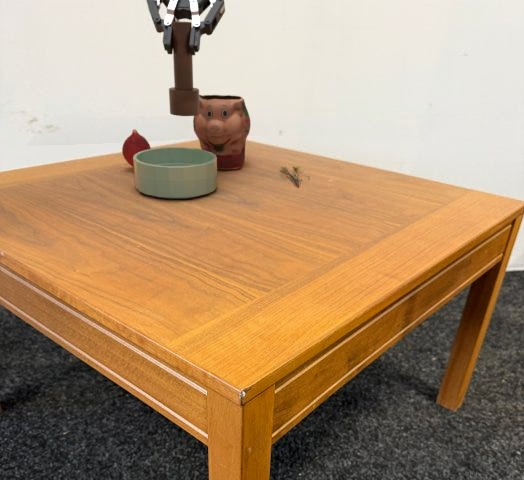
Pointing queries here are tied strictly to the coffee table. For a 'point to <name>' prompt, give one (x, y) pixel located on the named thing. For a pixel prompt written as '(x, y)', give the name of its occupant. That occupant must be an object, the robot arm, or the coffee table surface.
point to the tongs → (291, 174)
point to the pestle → (183, 73)
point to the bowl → (175, 172)
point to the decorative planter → (223, 128)
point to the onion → (134, 146)
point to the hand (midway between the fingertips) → (180, 50)
